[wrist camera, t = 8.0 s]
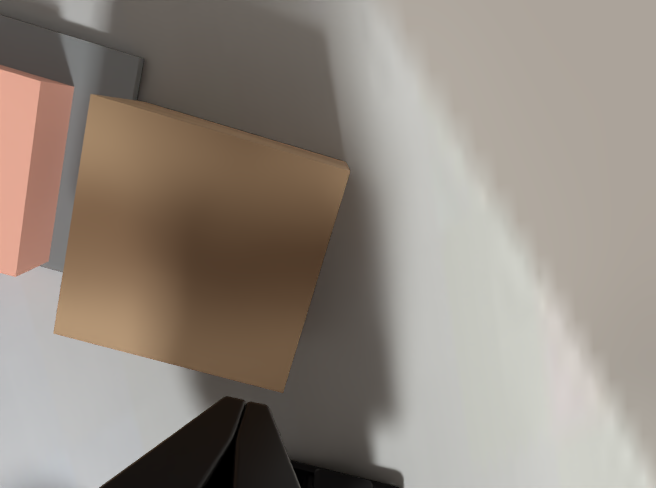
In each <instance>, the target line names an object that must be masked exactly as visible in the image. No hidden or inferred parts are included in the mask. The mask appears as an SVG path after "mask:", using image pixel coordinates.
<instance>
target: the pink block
mask: <svg viewBox="0 0 656 488" xmlns="http://www.w3.org/2000/svg"><path fill="white" fill-rule="evenodd" d="M73 93H74V87H73V86H70V85H67V84H63V83H60V82H57V81H53V80H50V79H47V78H43V77H40V76H37V75H33V74H30V73H26V72H23V71H20V70H16V69H13V68H10V67H6V66H3V65H0V273H3V274H7V275H11V276H14V277H16V276H18V275H21V274H23V273H25V272H27V271H29V270H31V269H33V268H35V267H37V266H40V265H42V264H44V263H46V262H48V261H49V256H50V249H51V242H52V236H53V229H54V222H55V215H56V208H57V201H58V195H59V188H60V181H61V174H62V167H63V161H64V154H65V147H66V140H67V133H68V127H69V120H70V113H71V106H72V99H73Z"/></svg>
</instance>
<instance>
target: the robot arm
mask: <svg viewBox="0 0 656 488" xmlns="http://www.w3.org/2000/svg"><path fill="white" fill-rule="evenodd" d="M99 488H399V487H395V486H391V485H387V484H383V483H379V482H375V481H371V480H367V479H363V478H359V477H355V476H351V475H347V474H343V473H339V472H335V471H331V470H327V469H323V468H319V467H315V466H311V465H307V464H303V463H299V462H295V461H291V460H290V459H289V457H288V454H287V452H286V449H285V447H284V444H283V442H282V439H281V437H280V434H279V432H278V429H277V426H276V424H275V421H274V419H273V416H272V414H271V411H270V409H269V407H268V406H267V405H264V404H260V403H255V402H248V403H247V404H246V402H245V401H244V400H242V399H237V398H233V397H229V396H226V397H224V398H222V399H221V400H219V401H218V402H217V403H215V404H214V405H213V406H211V407H210V408H208V409H207V410H206V411H204V412H203V413H201V414H200V415H199V416H197V417H196V418H195V419H193V420H192V421H190V422H189V423H188V424H186V425H185V426H184V427H182V428H181V429H179V430H178V431H177V432H175V433H174V434H172V435H171V436H170V437H168V438H167V439H166V440H164V441H163V442H161V443H160V444H159V445H157V446H156V447H155V448H153V449H152V450H150V451H149V452H148V453H146V454H145V455H143V456H142V457H141V458H139V459H138V460H137V461H135V462H134V463H132V464H131V465H130V466H128V467H127V468H126V469H124V470H123V471H121V472H120V473H119V474H117V475H116V476H114V477H113V478H112V479H110V480H109V481H108V482H106V483H105V484H103V485H102V486H101V487H99Z"/></svg>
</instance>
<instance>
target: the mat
mask: <svg viewBox="0 0 656 488" xmlns="http://www.w3.org/2000/svg"><path fill="white" fill-rule="evenodd" d="M143 62H144V59H143V58H140V57H137V56H134V55H131V54H127V53H124V52H121V51H118V50H114V49H111V48H108V47H104V46H101V45H98V44H95V43H91V42H88V41H85V40H82V39H78V38H75V37H72V36H68V35H65V34H62V33H59V32H55V31H52V30H49V29H46V28H42V27H39V26H36V25H32V24H29V23H26V22H23V21H19V20H16V19H13V18H9V17H6V16H3V15H0V65H3V66H6V67H10V68H13V69H16V70H20V71H23V72H26V73H30V74H33V75H37V76H40V77H43V78H47V79H50V80H53V81H57V82H60V83H63V84H67V85H70V86H73V87H74V93H73V99H72V106H71V113H70V120H69V127H68V133H67V140H66V147H65V154H64V161H63V167H62V174H61V181H60V188H59V195H58V201H57V208H56V215H55V222H54V229H53V236H52V242H51V249H50V256H49V261H48V262H46V263H44V264H42V265H40V266H41V267H45V268H49V269H52V270H56V271H60V272H63V269H64V263H65V256H66V250H67V243H68V237H69V231H70V224H71V218H72V211H73V205H74V198H75V192H76V185H77V179H78V173H79V166H80V160H81V153H82V147H83V140H84V134H85V127H86V121H87V115H88V108H89V102H90V95H91V94H95V95H102V96H109V97H116V98H122V99H129V100H136V101H137V96H138V90H139V84H140V79H141V73H142V68H143Z"/></svg>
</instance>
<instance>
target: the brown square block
mask: <svg viewBox="0 0 656 488" xmlns="http://www.w3.org/2000/svg"><path fill="white" fill-rule="evenodd" d="M349 174H350V169H349V167H348V165H347V163H346V162H345V161H341V160H338V159H334V158H331V157H328V156H324V155H321V154H318V153H314V152H311V151H308V150H304V149H301V148H298V147H294V146H291V145H288V144H284V143H281V142H278V141H274V140H271V139H268V138H264V137H261V136H257V135H254V134H251V133H247V132H244V131H241V130H237V129H234V128H231V127H227V126H224V125H221V124H217V123H214V122H211V121H207V120H204V119H201V118H197V117H194V116H191V115H187V114H184V113H180V112H177V111H174V110H170V109H167V108H164V107H160V106H157V105H154V104H150V103H147V102H143V101H136V100H129V99H122V98H116V97H109V96H102V95H95V94H91V95H90V102H89V108H88V115H87V121H86V127H85V134H84V140H83V147H82V153H81V160H80V166H79V173H78V179H77V185H76V192H75V198H74V205H73V211H72V218H71V224H70V231H69V237H68V243H67V250H66V256H65V263H64V269H63V276H62V282H61V289H60V295H59V301H58V308H57V314H56V321H55V327H54V334H58V335H62V336H65V337H69V338H73V339H77V340H81V341H85V342H88V343H92V344H96V345H100V346H104V347H108V348H111V349H115V350H119V351H123V352H127V353H131V354H135V355H138V356H142V357H146V358H150V359H154V360H158V361H161V362H165V363H169V364H173V365H177V366H181V367H184V368H188V369H192V370H196V371H200V372H204V373H208V374H211V375H215V376H219V377H223V378H227V379H231V380H234V381H238V382H242V383H246V384H250V385H254V386H257V387H261V388H265V389H269V390H273V391H277V392H281V393H283V392H284V388H285V385H286V382H287V378H288V375H289V372H290V368H291V365H292V362H293V359H294V355H295V352H296V349H297V345H298V342H299V339H300V335H301V332H302V329H303V326H304V322H305V319H306V316H307V312H308V309H309V306H310V302H311V299H312V296H313V293H314V289H315V286H316V283H317V279H318V276H319V273H320V270H321V266H322V263H323V260H324V256H325V253H326V250H327V246H328V243H329V240H330V237H331V233H332V230H333V227H334V223H335V220H336V217H337V213H338V210H339V207H340V204H341V200H342V197H343V194H344V190H345V187H346V184H347V180H348V177H349Z"/></svg>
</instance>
